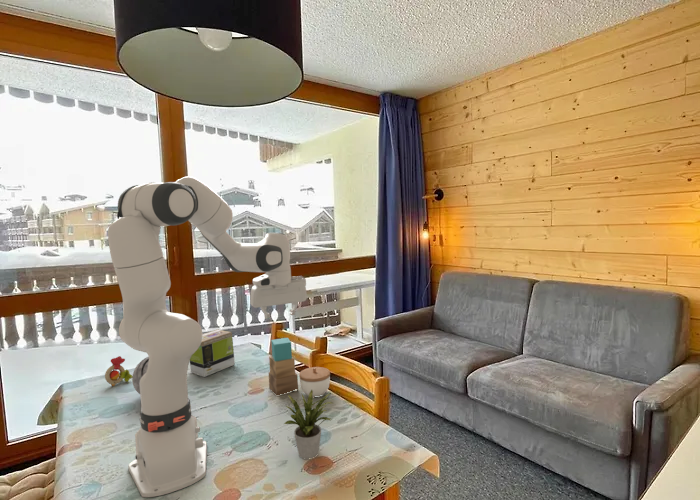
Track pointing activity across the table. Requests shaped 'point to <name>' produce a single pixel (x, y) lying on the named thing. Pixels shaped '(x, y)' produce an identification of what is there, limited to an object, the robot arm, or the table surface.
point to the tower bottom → (283, 384)
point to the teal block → (281, 349)
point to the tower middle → (282, 367)
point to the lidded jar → (315, 380)
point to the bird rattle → (117, 372)
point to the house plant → (307, 425)
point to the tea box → (213, 353)
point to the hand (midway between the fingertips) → (280, 316)
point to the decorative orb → (139, 373)
